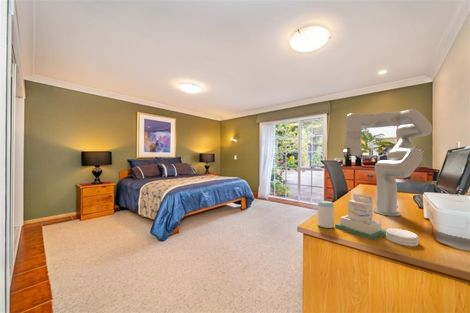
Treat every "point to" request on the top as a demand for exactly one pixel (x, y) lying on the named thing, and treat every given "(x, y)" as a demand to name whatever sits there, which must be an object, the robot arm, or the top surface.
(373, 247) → the top surface
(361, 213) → the ink cartridge box
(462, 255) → the top surface
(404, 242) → the white short cylinder
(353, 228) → the green and cream tray
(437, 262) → the top surface
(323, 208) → the can
